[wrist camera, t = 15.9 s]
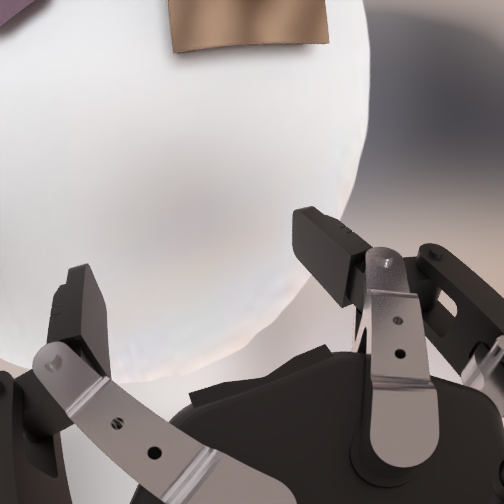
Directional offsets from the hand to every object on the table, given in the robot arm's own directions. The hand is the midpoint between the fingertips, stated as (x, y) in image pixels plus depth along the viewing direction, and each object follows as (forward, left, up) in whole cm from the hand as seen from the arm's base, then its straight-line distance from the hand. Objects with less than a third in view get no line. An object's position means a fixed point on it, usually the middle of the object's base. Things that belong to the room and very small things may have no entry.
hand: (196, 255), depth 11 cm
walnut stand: (+9, +18, -27) cm, 34 cm away
